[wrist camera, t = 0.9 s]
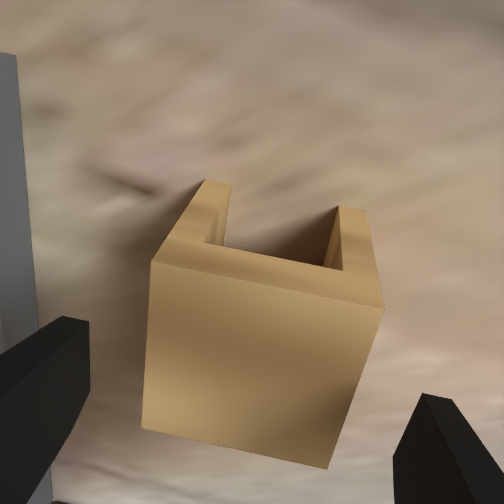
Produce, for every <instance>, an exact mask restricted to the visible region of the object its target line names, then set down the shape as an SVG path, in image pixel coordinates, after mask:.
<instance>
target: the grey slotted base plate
mask: <svg viewBox="0 0 504 504" xmlns="http://www.w3.org/2000/svg"><path fill="white" fill-rule="evenodd" d="M38 330H39V328H38V316H37V304H36V292H35V280H34V268H33V256H32V244H31V232H30V220H29V209H28V197H27V185H26V173H25V161H24V149H23V137H22V125H21V113H20V102H19V90H18V78H17V66H16V55H12V54H6V53H1V52H0V354H2V353H4V352H5V351H7V350H8V349H10V348H12V347H13V346H15V345H16V344H18V343H19V342H21V341H23V340H24V339H26V338H27V337H29V336H30V335H32V334H33V333H35V332H37V331H38ZM52 499H53V494H52V482H51V470H50V467H49V469H48V470H47V472H46V473H45V475H44V477H43V478H42V480H41V482H40V483H39V485H38V486H37V488H36V490H35V491H34V493H33V494H32V496H31V498H30V499H29V501H28V502H27V504H50V502H51V501H52Z"/></svg>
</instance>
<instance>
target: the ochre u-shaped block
mask: <svg viewBox="0 0 504 504" xmlns="http://www.w3.org/2000/svg"><path fill="white" fill-rule="evenodd" d="M231 186H232V184H227V183H222V182H217V181H212V180H207V179H205V180H204V182H203V183H202V185H201V186H200V188H199V189H198V191H197V192H196V194H195V196H194V197H193V199H192V200H191V202H190V203H189V205H188V206H187V208H186V209H185V211H184V212H183V214H182V215H181V217H180V218H179V220H178V221H177V223H176V224H175V226H174V227H173V229H172V230H171V232H170V233H169V235H168V236H167V238H166V239H165V241H164V242H163V244H162V245H161V247H160V248H159V250H158V251H157V253H156V254H155V256H154V257H153V259H152V261H151V271H150V288H149V305H148V322H147V339H146V356H145V373H144V390H143V407H142V424H141V428H143V429H147V430H152V431H156V432H161V433H165V434H170V435H174V436H179V437H183V438H188V439H192V440H196V441H201V442H205V443H210V444H214V445H219V446H223V447H228V448H232V449H237V450H241V451H246V452H250V453H255V454H259V455H264V456H268V457H273V458H277V459H282V460H286V461H291V462H295V463H300V464H304V465H309V466H313V467H318V468H322V469H327V468H328V465H329V463H330V460H331V457H332V454H333V451H334V449H335V446H336V443H337V440H338V438H339V435H340V432H341V429H342V427H343V424H344V421H345V418H346V416H347V413H348V410H349V407H350V404H351V402H352V399H353V396H354V393H355V391H356V388H357V385H358V382H359V380H360V377H361V374H362V371H363V368H364V366H365V363H366V360H367V357H368V355H369V352H370V349H371V346H372V344H373V341H374V338H375V335H376V332H377V330H378V327H379V324H380V321H381V319H382V316H383V313H384V310H385V308H384V303H383V297H382V292H381V287H380V282H379V277H378V271H377V266H376V261H375V256H374V251H373V245H372V240H371V235H370V230H369V225H368V219H367V214H366V211H364V210H359V209H354V208H349V207H344V206H339V207H338V210H337V214H336V218H335V222H334V225H333V229H332V233H331V237H330V240H329V244H328V248H327V252H326V255H325V259H324V263H323V267H321V266H316V265H311V264H306V263H301V262H296V261H292V260H287V259H282V258H277V257H272V256H267V255H262V254H257V253H252V252H247V251H242V250H238V249H233V248H228V247H223V242H224V235H225V228H226V221H227V214H228V207H229V200H230V193H231Z"/></svg>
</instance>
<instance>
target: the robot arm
mask: <svg viewBox="0 0 504 504" xmlns="http://www.w3.org/2000/svg"><path fill="white" fill-rule="evenodd" d="M89 392H90V348H89V321H84V320H79V319H75V318H70V317H65V316H61V317H59V318H57V319H56V320H54V321H53V322H51V323H49V324H48V325H46V326H45V327H43V328H41V329H40V330H38V331H37V332H35V333H33V334H32V335H30V336H29V337H27V338H26V339H24V340H23V341H21V342H19V343H18V344H16V345H15V346H13V347H12V348H10V349H8V350H7V351H5V352H4V353H2V354H0V504H27V502H28V501H29V499H30V498H31V496H32V494H33V493H34V491H35V490H36V488H37V486H38V485H39V483H40V482H41V480H42V478H43V477H44V475H45V473H46V472H47V470H48V469H49V467H50V465H51V464H52V462H53V461H54V459H55V457H56V456H57V454H58V452H59V451H60V449H61V448H62V446H63V444H64V443H65V441H66V439H67V438H68V436H69V434H70V433H71V430H72V428H73V426H74V424H75V422H76V420H77V418H78V416H79V414H80V412H81V410H82V407H83V405H84V403H85V401H86V399H87V396H88V394H89ZM393 483H394V502H395V504H504V473H503V471H502V470H501V469H500V467H499V466H498V465H497V463H496V462H495V460H494V459H493V457H492V456H491V455H490V453H489V452H488V450H487V449H486V448H485V446H484V445H483V443H482V442H481V440H480V439H479V438H478V436H477V435H476V433H475V432H474V430H473V429H472V427H471V426H470V425H469V423H468V422H467V420H466V419H465V417H464V416H463V415H462V413H461V412H460V410H459V409H458V407H457V406H456V405H455V403H454V402H453V401H452V399H448V398H443V397H438V396H434V395H429V394H424V393H422V395H421V397H420V399H419V401H418V403H417V406H416V408H415V410H414V412H413V414H412V416H411V418H410V421H409V423H408V425H407V427H406V429H405V431H404V434H403V436H402V438H401V440H400V442H399V444H398V447H397V449H396V451H395V453H394V455H393Z"/></svg>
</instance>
